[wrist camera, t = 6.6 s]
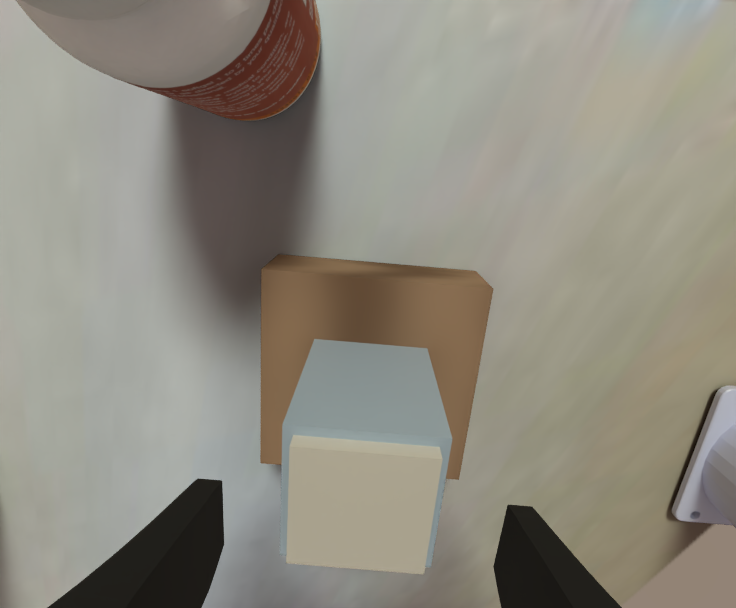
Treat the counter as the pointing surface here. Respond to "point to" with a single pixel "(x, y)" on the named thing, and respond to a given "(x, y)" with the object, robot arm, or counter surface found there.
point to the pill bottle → (194, 48)
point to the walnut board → (370, 329)
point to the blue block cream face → (363, 459)
